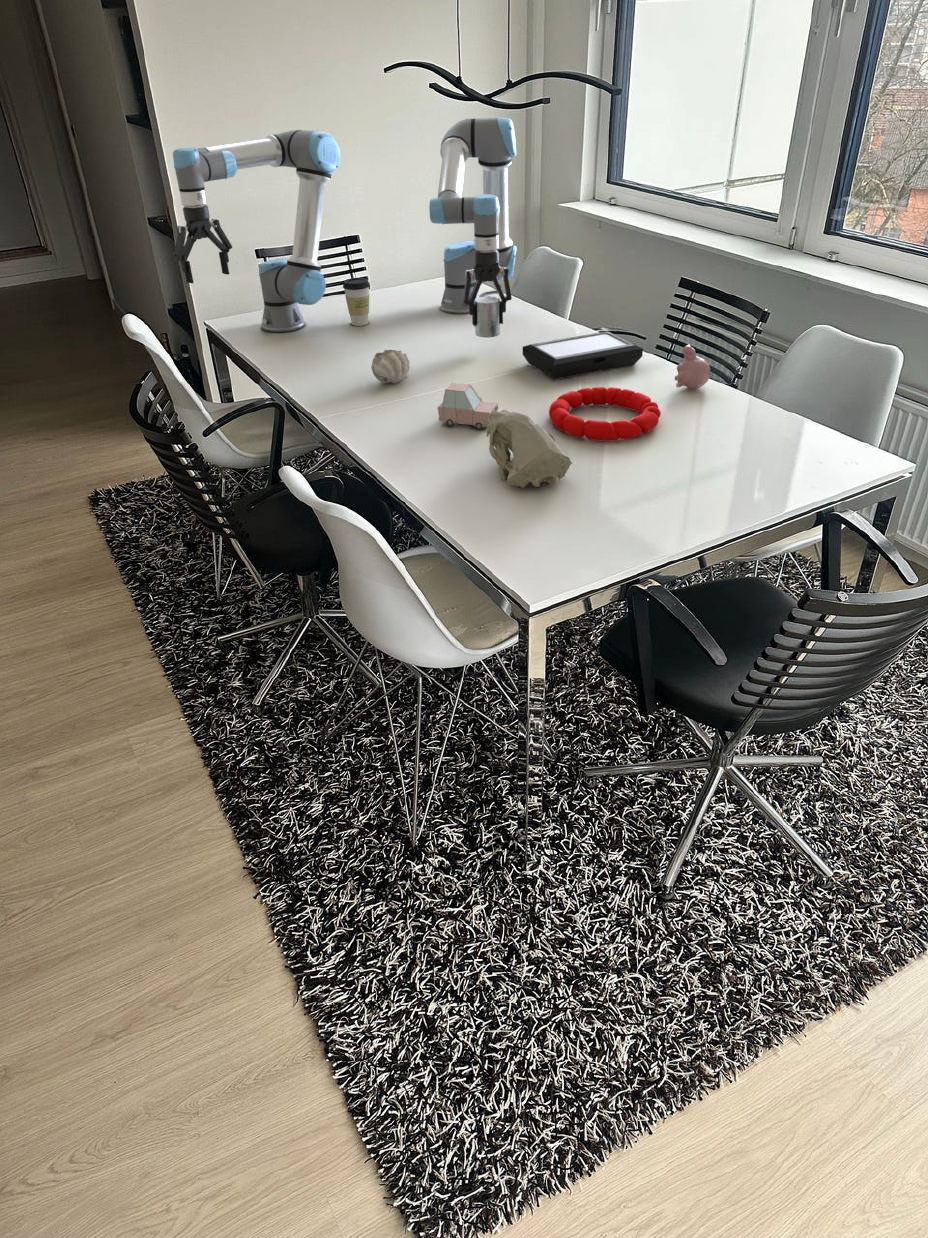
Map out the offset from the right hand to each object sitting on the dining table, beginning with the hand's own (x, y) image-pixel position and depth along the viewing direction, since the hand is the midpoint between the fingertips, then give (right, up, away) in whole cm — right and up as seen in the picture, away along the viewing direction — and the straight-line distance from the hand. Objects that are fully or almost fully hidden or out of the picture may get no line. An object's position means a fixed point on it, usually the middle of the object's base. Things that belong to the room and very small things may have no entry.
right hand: (487, 323), depth 290 cm
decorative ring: (+31, -42, -46) cm, 70 cm away
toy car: (-6, -42, -44) cm, 62 cm away
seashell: (-30, -23, -15) cm, 41 cm away
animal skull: (+6, -60, -70) cm, 92 cm away
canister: (0, -3, +2) cm, 3 cm away
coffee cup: (-46, +12, +37) cm, 60 cm away
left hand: (-89, +12, -7) cm, 90 cm away
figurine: (+59, -28, -27) cm, 71 cm away
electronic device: (+30, -16, -7) cm, 34 cm away
